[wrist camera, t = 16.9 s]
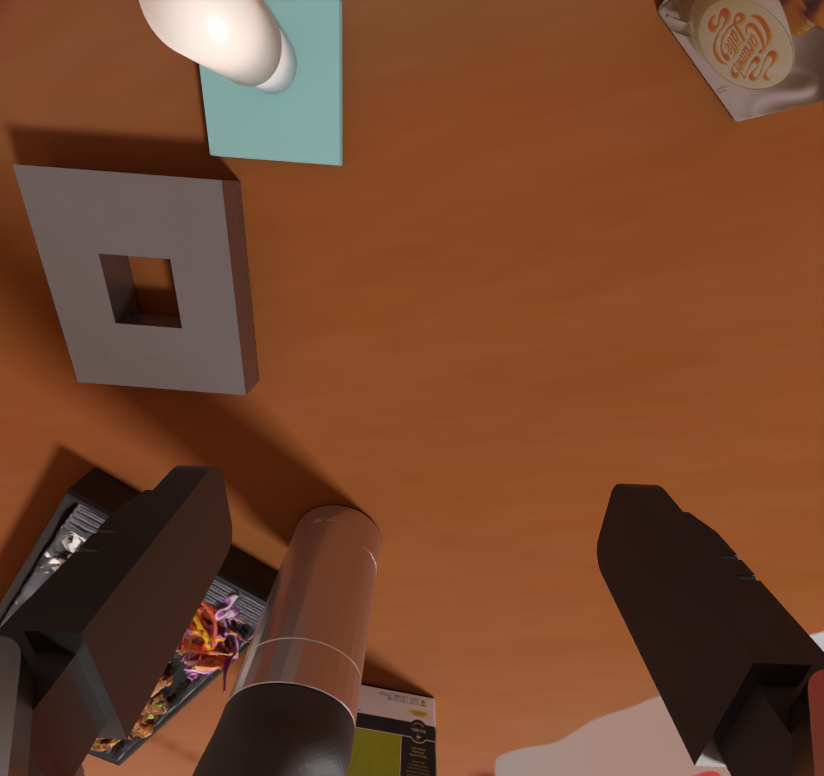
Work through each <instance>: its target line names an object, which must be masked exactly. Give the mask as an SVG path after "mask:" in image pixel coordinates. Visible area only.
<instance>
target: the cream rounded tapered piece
mask: <svg viewBox="0 0 824 776" xmlns="http://www.w3.org/2000/svg"><path fill="white" fill-rule="evenodd" d="M139 3H140V6H141V9H142V11H143V14H144V16H145V18H146V20H147V22H148V23H149V25H150V27H151V28H152V30H153V31H154V32H155V34H156V35H157V36H158V37H159V38H160V39H161V40H162V41H163V42H164V43H165V44H166V45H167V46H169V47H170V48H171V49H173V50H174V51H176V52H178V53H180V54H182V55H184V56H186V57H188V58H189V59H191V60H193V61H195V62H197V63H199V64H201V65H202V66H204V67H206V68H208V69H210V70H212V71H214V72H215V73H217V74H219V75H221V76H223V77H225V78H227V79H229V80H230V81H232V82H234V83H236V84H239V85H242V86H250V87H252V86H253V87H254V88H256V89H258V90H260V91H262V92H264V93H267V94H278V93H281V92H283V91H285V90H286V89H287V88H288V87H289V86H290V85H291V84H292V82H293V80H294V78H295V75H296V70H297V57H296V53H295V49H294V47H293V44H292V42H291V41H290V39H289V38H288V36H287V35H286V34H285V33H284V32H283V31H282V30H281V29H280V27H279V26H278V23H277V21H276V19H275V17H274V15H273V13H272V12H271V10H270V9H269V7H268V6H267V5H266V4H265V3H264V1H263V0H139Z"/></svg>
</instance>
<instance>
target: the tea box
mask: <svg viewBox="0 0 824 776" xmlns="http://www.w3.org/2000/svg"><path fill="white" fill-rule="evenodd" d="M346 776H437V756H436V717H435V699H433V698H428V697H423V696H418V695H412V694H407V693H402V692H397V691H391V690H386V689H381V688H375V687H370V686H365V685H361V689H360V696H359V704H358V711H357V718H356V725H355V733H354V741H353V748H352V754H351V760H350V765H349V769H348V771H347V774H346Z"/></svg>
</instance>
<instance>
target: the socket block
mask: <svg viewBox="0 0 824 776" xmlns="http://www.w3.org/2000/svg"><path fill="white" fill-rule="evenodd" d="M13 168H14V171H15V174H16V178H17V181H18V184H19V188H20V191H21V194H22V198H23V201H24V204H25V208H26V211H27V214H28V218H29V221H30V224H31V228H32V231H33V234H34V238H35V241H36V244H37V247H38V251H39V254H40V257H41V261H42V264H43V267H44V271H45V274H46V277H47V281H48V284H49V287H50V291H51V294H52V297H53V301H54V304H55V307H56V311H57V314H58V317H59V321H60V324H61V327H62V331H63V334H64V337H65V340H66V344H67V347H68V350H69V354H70V357H71V360H72V364H73V367H74V370H75V374H76V377H77V380H78V382H84V383H96V384H109V385H121V386H134V387H147V388H159V389H172V390H184V391H197V392H210V393H222V394H235V395H247V394H248V392H249V391H250V390H251V389H252V388H253V387H254V386H255V385H256V383H257V382H258V381H259V374H258V363H257V353H256V342H255V332H254V322H253V311H252V301H251V290H250V280H249V270H248V259H247V249H246V238H245V228H244V218H243V207H242V197H241V187H240V181H231V180H218V179H205V178H192V177H179V176H166V175H153V174H140V173H127V172H114V171H101V170H88V169H75V168H62V167H49V166H33V165H17V164H13ZM128 256H137V257H149V258H162V259H170V261H171V267H172V272H173V278H174V284H175V290H176V296H177V301H178V307H179V313H180V316H171V315H159V314H146V313H140V312H139V308H138V303H137V298H136V294H135V289H134V284H133V280H132V275H131V270H130V266H129V261H128Z"/></svg>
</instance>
